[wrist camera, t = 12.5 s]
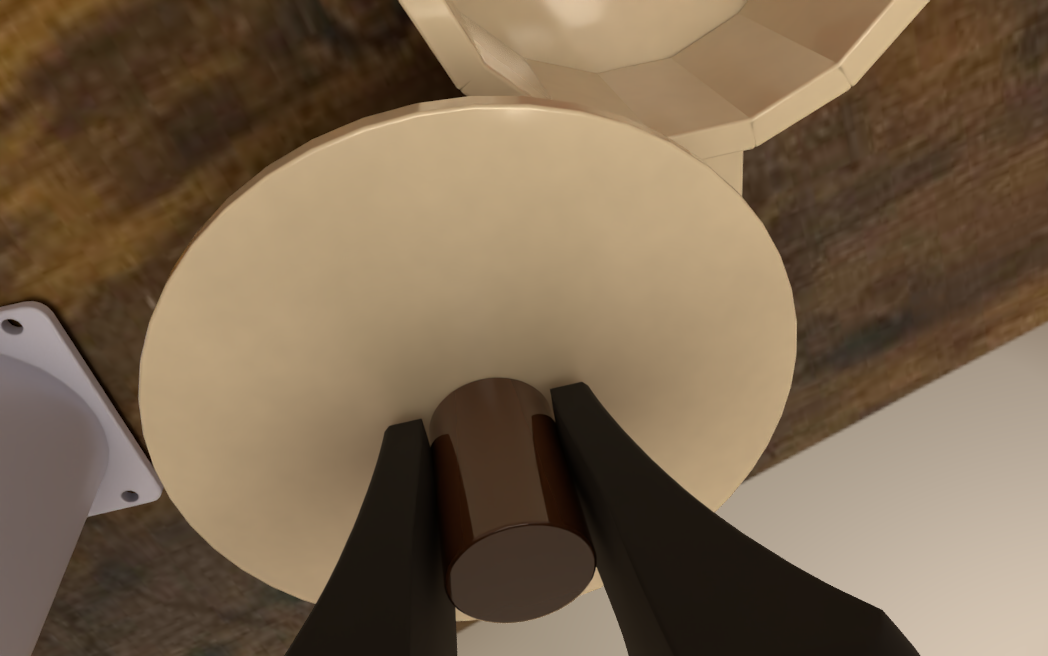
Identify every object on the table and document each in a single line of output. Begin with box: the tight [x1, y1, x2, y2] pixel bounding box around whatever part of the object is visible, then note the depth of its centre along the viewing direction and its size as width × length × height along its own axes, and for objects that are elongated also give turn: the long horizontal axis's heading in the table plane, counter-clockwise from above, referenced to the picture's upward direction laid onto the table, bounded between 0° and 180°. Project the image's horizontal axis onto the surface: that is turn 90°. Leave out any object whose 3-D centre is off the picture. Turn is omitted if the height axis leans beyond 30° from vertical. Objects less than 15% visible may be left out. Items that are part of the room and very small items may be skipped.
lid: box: [138, 96, 797, 623], centre depth 13 cm, size 12×12×5 cm
